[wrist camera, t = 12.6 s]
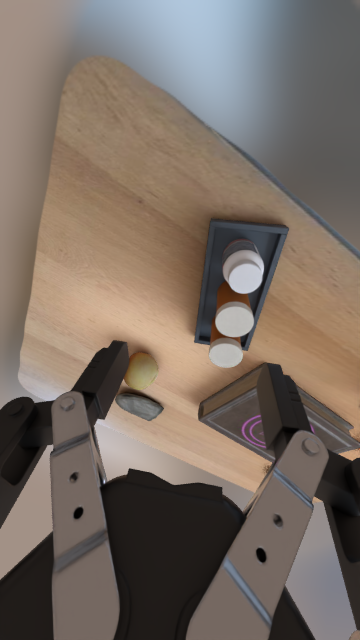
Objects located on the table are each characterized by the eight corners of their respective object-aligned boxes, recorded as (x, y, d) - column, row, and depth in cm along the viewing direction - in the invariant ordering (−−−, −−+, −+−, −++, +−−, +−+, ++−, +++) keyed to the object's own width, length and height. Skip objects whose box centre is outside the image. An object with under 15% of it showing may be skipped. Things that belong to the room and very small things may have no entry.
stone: (166, 404, 60) (163, 415, 57) (150, 417, 65) (147, 427, 62) (126, 382, 57) (121, 392, 54) (112, 397, 62) (108, 407, 59)
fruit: (145, 372, 53) (134, 400, 47) (124, 350, 50) (109, 377, 43) (169, 364, 50) (161, 392, 44) (148, 340, 47) (136, 367, 40)
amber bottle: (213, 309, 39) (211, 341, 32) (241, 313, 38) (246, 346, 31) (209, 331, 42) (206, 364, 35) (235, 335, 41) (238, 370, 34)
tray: (211, 218, 31) (210, 220, 29) (285, 225, 30) (289, 228, 28) (195, 336, 44) (194, 342, 42) (246, 344, 43) (247, 351, 41)
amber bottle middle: (219, 277, 35) (218, 304, 28) (251, 280, 35) (258, 309, 27) (214, 303, 38) (212, 334, 31) (243, 307, 38) (248, 339, 30)
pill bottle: (215, 252, 33) (214, 274, 26) (245, 230, 30) (253, 248, 23) (234, 277, 35) (237, 305, 28) (264, 259, 32) (276, 283, 25)
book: (352, 425, 52) (363, 447, 48) (277, 450, 64) (281, 469, 60) (264, 362, 45) (268, 381, 41) (198, 403, 57) (197, 421, 53)
